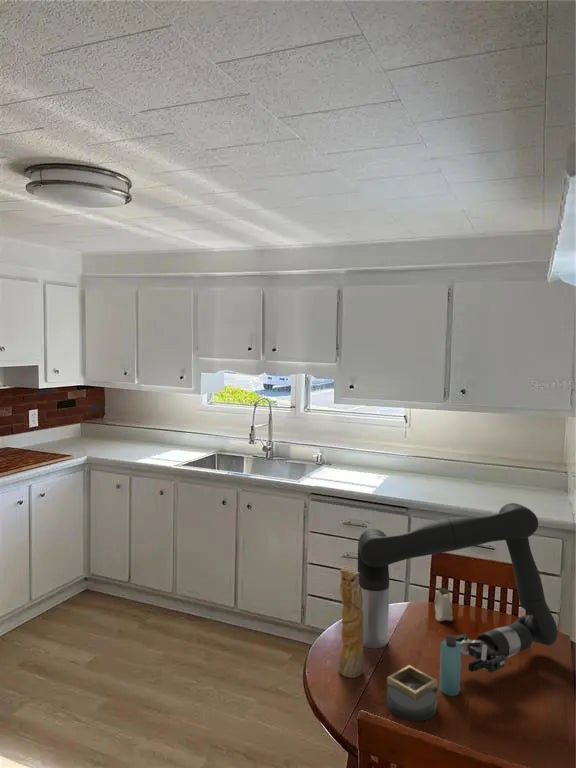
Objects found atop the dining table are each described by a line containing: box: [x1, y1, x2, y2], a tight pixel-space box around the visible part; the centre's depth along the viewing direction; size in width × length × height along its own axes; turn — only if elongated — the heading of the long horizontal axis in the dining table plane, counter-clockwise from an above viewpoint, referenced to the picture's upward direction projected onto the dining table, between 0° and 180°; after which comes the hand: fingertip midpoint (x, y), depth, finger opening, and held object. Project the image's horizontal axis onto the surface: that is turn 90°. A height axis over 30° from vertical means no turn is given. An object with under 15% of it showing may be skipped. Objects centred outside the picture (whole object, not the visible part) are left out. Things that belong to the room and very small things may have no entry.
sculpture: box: [338, 568, 364, 679], centre depth 155 cm, size 7×9×30 cm
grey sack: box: [433, 587, 454, 622], centre depth 189 cm, size 9×8×10 cm
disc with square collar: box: [386, 664, 438, 722], centre depth 143 cm, size 12×12×7 cm
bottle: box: [439, 634, 462, 697], centre depth 149 cm, size 5×5×14 cm
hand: (456, 659), depth 150 cm, fingers open, 8 cm apart
